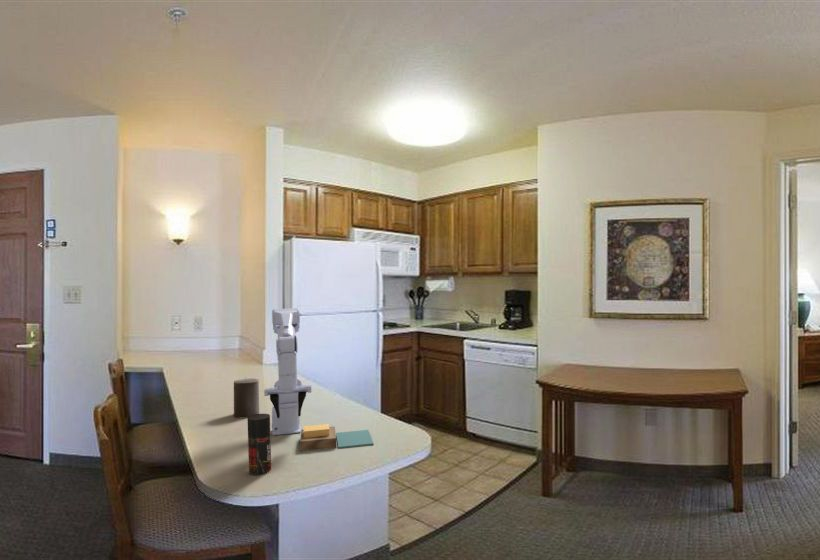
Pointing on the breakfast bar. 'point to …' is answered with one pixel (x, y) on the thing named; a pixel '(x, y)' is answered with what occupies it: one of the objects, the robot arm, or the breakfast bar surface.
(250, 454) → the deodorant
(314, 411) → the breakfast bar surface
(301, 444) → the brown flat block
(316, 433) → the tile
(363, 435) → the mat
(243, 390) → the pillar candle
